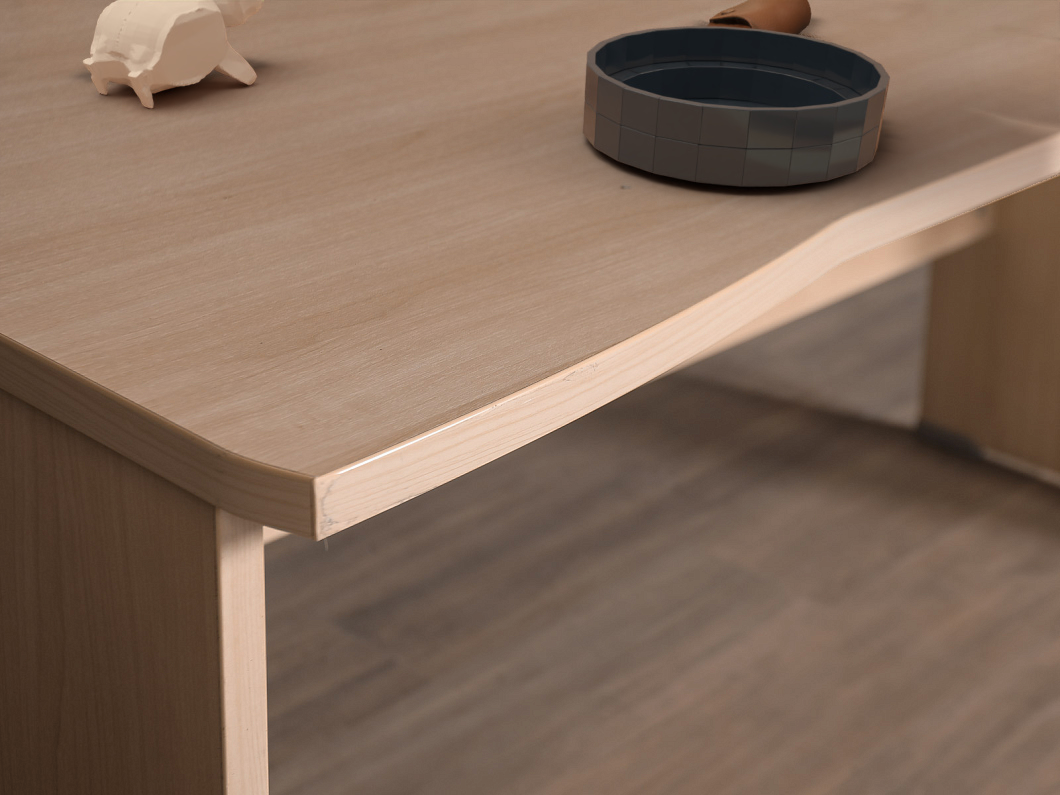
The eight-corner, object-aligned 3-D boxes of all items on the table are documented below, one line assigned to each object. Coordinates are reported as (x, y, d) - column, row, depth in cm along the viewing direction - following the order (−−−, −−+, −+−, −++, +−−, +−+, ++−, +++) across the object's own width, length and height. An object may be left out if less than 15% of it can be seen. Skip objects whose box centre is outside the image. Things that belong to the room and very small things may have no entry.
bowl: (936, 156, 85) (952, 76, 82) (728, 220, 74) (739, 131, 71) (725, 83, 98) (733, 13, 95) (523, 128, 87) (525, 51, 84)
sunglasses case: (719, 17, 115) (762, -43, 111) (778, 64, 115) (823, 6, 111) (661, 65, 100) (709, -2, 96) (728, 119, 100) (779, 54, 96)
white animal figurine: (181, 148, 90) (309, 35, 98) (132, 49, 84) (272, -64, 91) (105, 124, 95) (233, 17, 102) (53, 28, 88) (193, -79, 95)
